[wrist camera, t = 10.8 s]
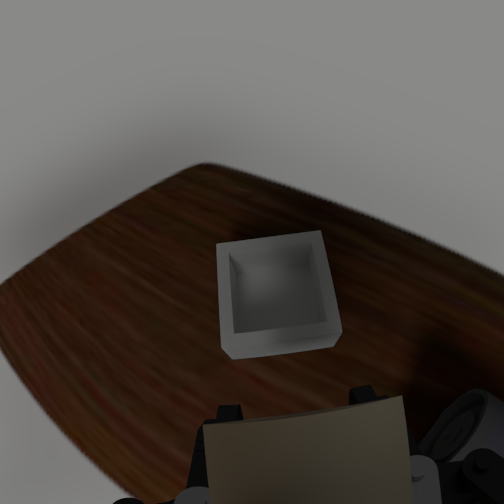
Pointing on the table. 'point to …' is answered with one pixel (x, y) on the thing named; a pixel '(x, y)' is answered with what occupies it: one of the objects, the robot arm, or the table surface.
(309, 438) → the birch peg
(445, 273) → the table surface
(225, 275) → the socket stand
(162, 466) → the table surface
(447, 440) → the bluetooth speaker
